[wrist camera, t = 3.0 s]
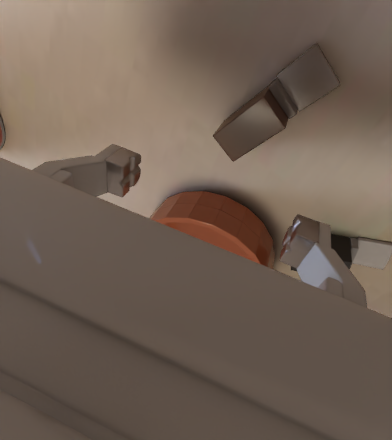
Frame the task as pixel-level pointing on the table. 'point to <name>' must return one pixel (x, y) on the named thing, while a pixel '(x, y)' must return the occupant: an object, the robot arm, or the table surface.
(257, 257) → the bowl
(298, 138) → the table surface
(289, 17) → the table surface
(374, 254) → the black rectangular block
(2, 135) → the canned food
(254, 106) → the block
